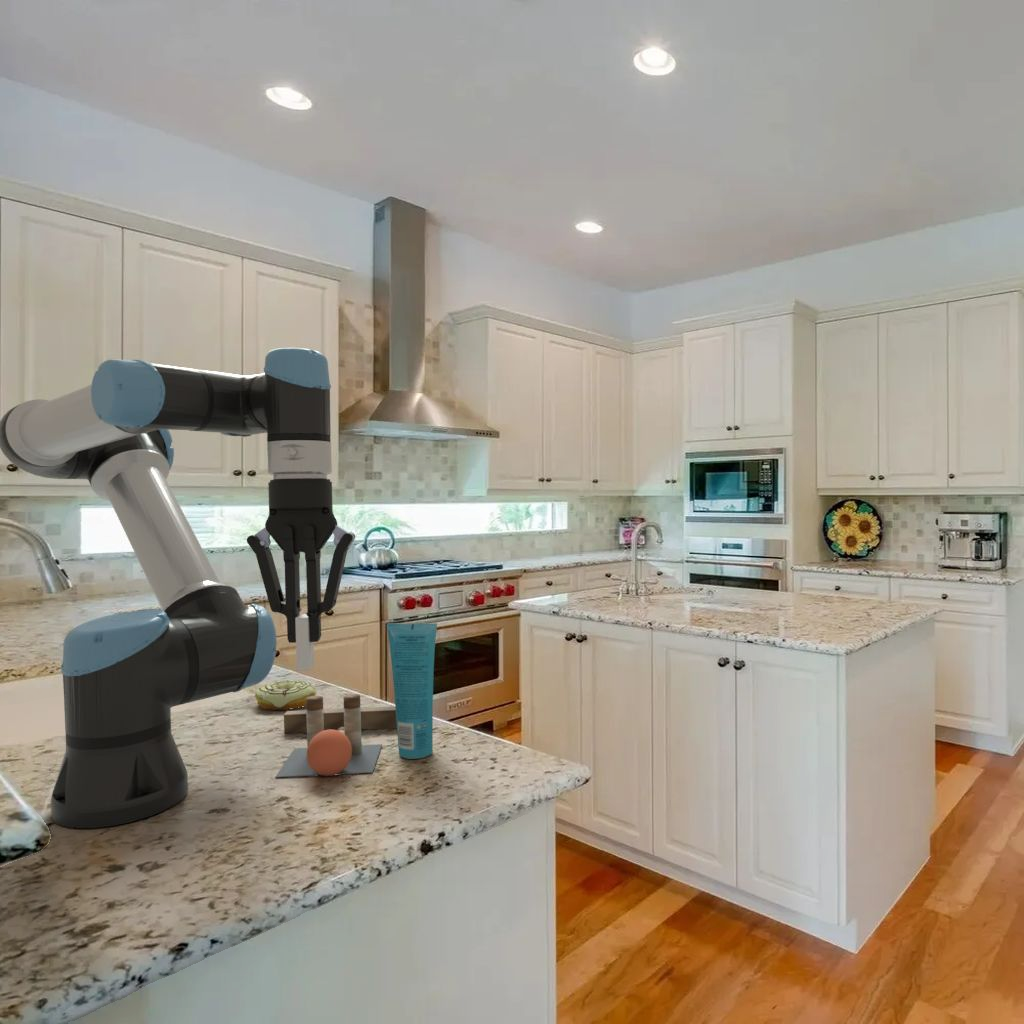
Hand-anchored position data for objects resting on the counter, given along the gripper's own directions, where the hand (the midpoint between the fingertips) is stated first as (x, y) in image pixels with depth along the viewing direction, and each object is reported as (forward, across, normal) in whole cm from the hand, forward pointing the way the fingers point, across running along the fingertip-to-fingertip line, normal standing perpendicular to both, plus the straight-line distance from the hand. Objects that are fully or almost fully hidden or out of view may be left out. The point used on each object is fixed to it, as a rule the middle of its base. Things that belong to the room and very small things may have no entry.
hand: (305, 668), depth 89 cm
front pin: (+16, 0, +13) cm, 20 cm away
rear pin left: (+17, +3, +16) cm, 24 cm away
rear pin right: (+17, -2, +16) cm, 24 cm away
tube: (+17, +12, +15) cm, 26 cm away
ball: (+14, +1, +9) cm, 16 cm away
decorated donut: (+18, -14, +45) cm, 50 cm away
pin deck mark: (+17, 0, +14) cm, 22 cm away
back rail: (+17, 0, +28) cm, 33 cm away
